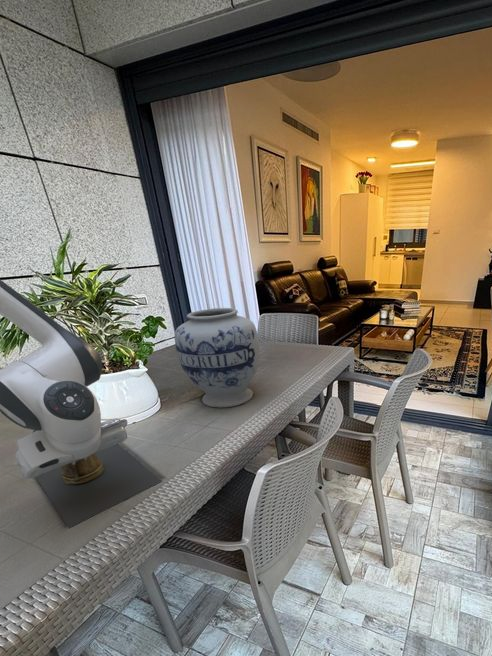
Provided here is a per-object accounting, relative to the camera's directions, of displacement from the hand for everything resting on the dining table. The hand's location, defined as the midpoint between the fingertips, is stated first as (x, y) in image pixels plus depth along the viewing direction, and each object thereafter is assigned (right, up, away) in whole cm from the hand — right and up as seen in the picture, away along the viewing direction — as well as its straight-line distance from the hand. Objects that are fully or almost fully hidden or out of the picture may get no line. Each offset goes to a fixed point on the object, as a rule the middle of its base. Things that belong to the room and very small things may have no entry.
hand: (78, 459), depth 81 cm
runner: (+1, -5, +5) cm, 7 cm away
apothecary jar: (+23, +18, +45) cm, 54 cm away
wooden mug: (-2, -5, +5) cm, 8 cm away
